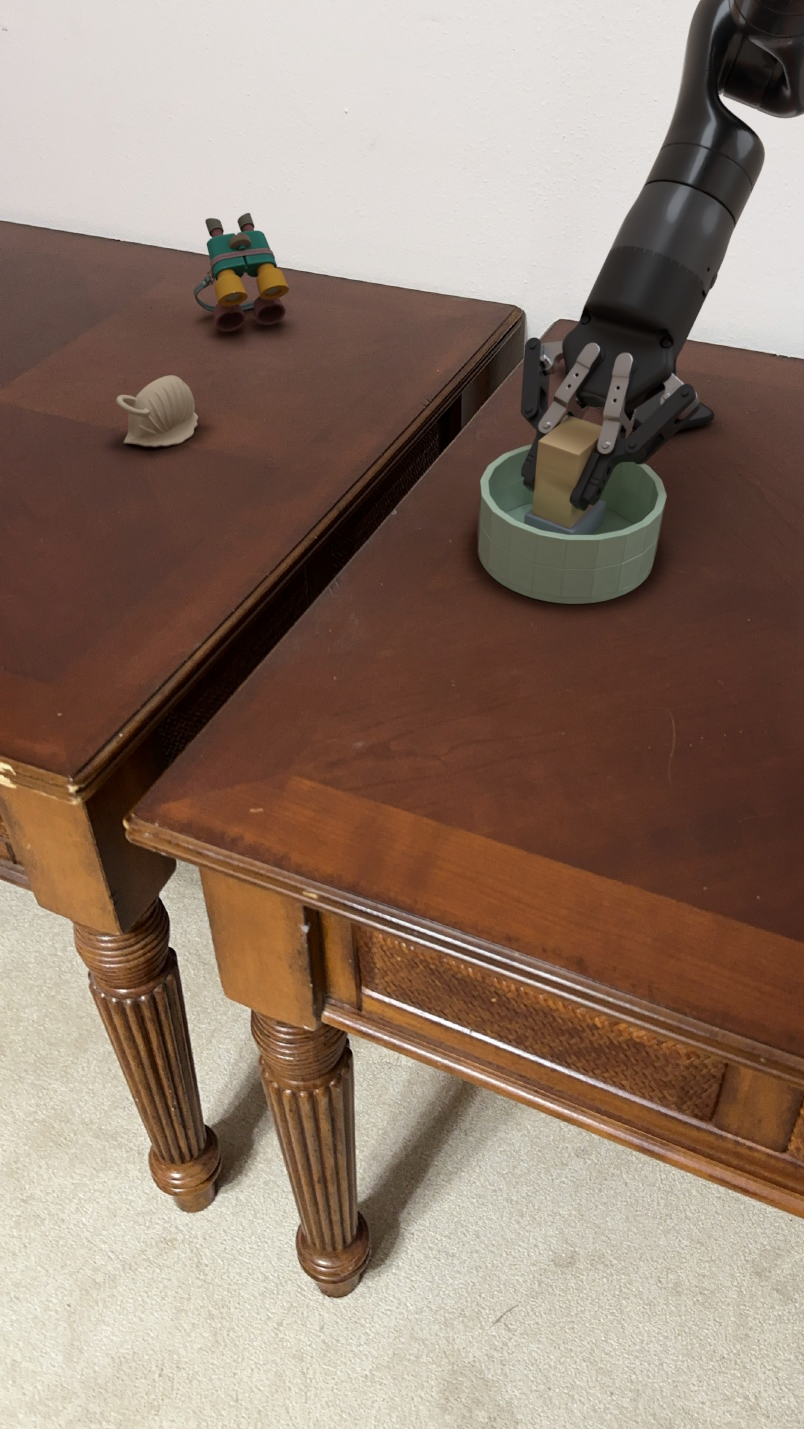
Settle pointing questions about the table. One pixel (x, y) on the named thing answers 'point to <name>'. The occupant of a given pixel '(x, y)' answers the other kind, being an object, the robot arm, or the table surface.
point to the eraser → (564, 480)
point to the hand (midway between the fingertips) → (554, 496)
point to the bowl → (569, 536)
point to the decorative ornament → (160, 413)
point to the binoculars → (230, 265)
